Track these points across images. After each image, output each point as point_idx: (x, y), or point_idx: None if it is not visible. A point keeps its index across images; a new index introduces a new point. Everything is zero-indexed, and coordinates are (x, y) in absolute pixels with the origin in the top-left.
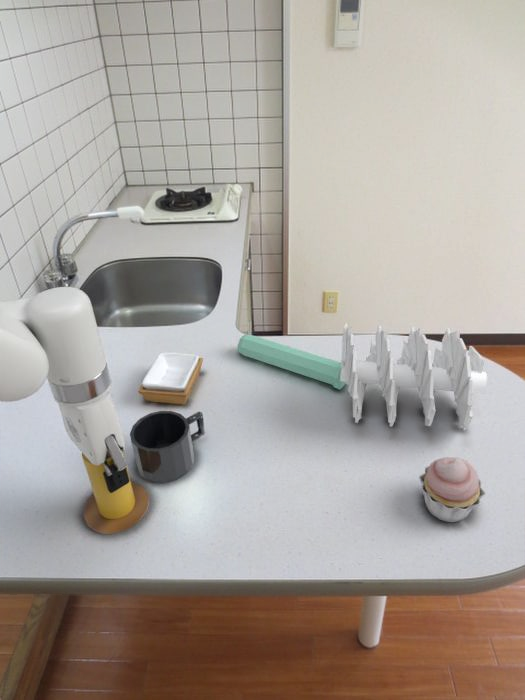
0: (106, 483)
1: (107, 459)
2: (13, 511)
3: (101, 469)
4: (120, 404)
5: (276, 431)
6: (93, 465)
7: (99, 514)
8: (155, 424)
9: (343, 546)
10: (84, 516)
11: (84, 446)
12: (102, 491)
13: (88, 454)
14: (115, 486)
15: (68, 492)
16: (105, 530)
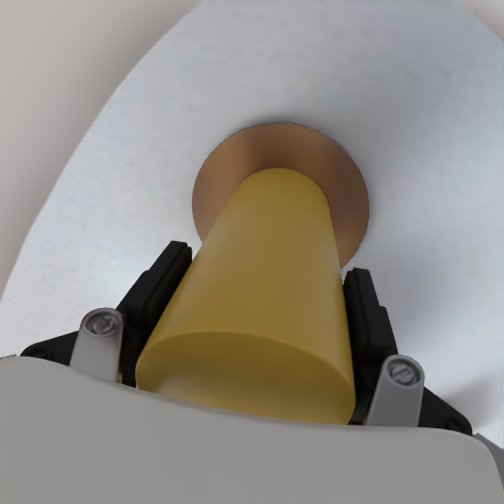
0: (161, 266)
1: (147, 383)
2: (488, 46)
3: (161, 319)
4: (486, 377)
5: None
6: (169, 326)
7: (289, 165)
8: (347, 424)
9: (21, 342)
10: (319, 134)
11: (4, 493)
12: (220, 224)
13: (4, 424)
14: (142, 274)
15: (435, 164)
16: (227, 144)
